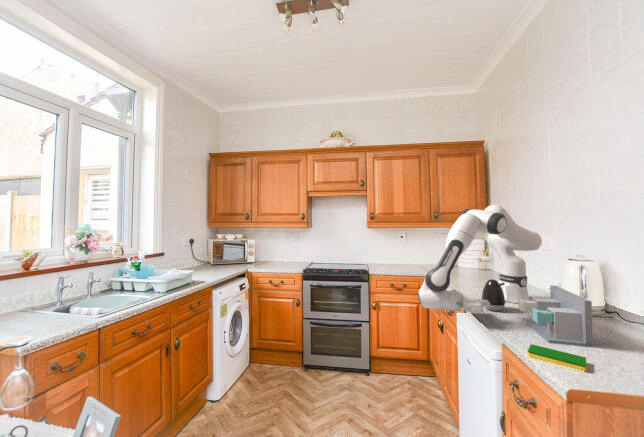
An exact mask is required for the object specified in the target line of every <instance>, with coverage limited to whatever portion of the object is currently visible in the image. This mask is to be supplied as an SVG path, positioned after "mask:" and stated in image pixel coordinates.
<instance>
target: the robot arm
mask: <svg viewBox="0 0 644 437" xmlns="http://www.w3.org/2000/svg"><path fill="white" fill-rule="evenodd" d="M478 232H479V233H480V232H481V233H485V234H488V235H487V239H486V240H487V244H488V246H489V247H490V248H492V249H493V250H495V252H496V253H497V255H498V257H499V259H500V262H501V264H500V265H501V273H500V274H499V273H498V275H497V277H499V279H498V280H497V281H498V283H505V285H502V286H501V288H502V290H503V293H504V297H505V303H512V304H518V299H522V300H529V301H531V299H530V295H529V291H528V276H527V267H526V266H527V264H526V261H525V260H524V259H523V258H521V257H520V256H517V254H515V251H521V252H529V251H530V252H532V251H538V250H539V249H540V248H541V246H542V243H543V240H542V237H541V235H540V234H539V233H538V232H535V231H532V230H529V229H526V228H525V227H523V226H521V225H520V224H517V223H516V221H515V220H514V219H513V218H512V216H511V214H510V213H509V212H508V211H507V210H506V209H505V208H503V207H502V206H501V205H498V204H491V205H488V206H486V208H484V209H474V208H466V209H464V210H462V211H461V212H460V214H459V216H458V218H457V219H456V220H455V222H454V223H453V225H452V226H451V228H450V229H449V231H448V234H447V236H446V239H445V248H444V252H443V253H442V255H441V257H440V259H439V261H438V263H437V264H436V266H435V267H433V268H431V269H430V270H429V271H427V272H426V275H425V276H424V281H423V282H422V285H421V287H420V289H419V290H418V292H417V297H418V301H419V304H420V306H422V307H423V308H426V309H429V310H446V311H453V312H461V309H462V310H463V311H465V312H468V313H477V314H482V313H483V312H484V306H490V302H489V301H488V300H482V298H477V297H476V296H475V295H474V293H472V292H469V291H468V292H467V291H461V290H456V289H451V290H447V289H448V288H449V286H450V283H451V273H452V271H453V269H454V267H455V265H456V263H457V262H458V260H459V258H460V257H461V256H462V254H463V253H465V252H466V251H467V249H468V248H470V246H471V244H472V243H473V241H474V239H475V237H476V236H477V233H478Z"/></svg>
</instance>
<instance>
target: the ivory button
mask: <svg viewBox="0 0 644 437" xmlns="http://www.w3.org/2000/svg"><path fill="white" fill-rule="evenodd" d="M517 305H518V310H520V311H521V312H524V313H525V312H526V311H527V312H528V311H529V312H532V308H535V309H537V302H536V301H531V300H530V301H529V300H522V299H518V303H517Z"/></svg>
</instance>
